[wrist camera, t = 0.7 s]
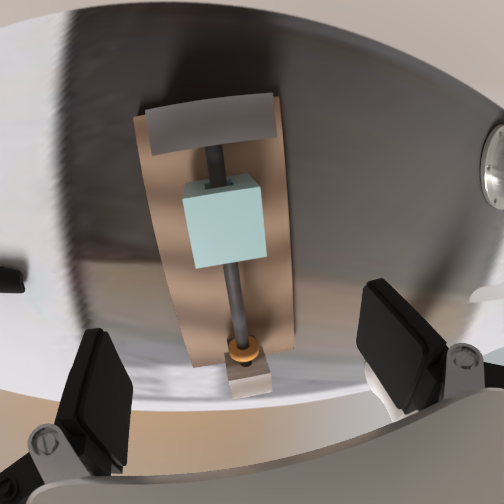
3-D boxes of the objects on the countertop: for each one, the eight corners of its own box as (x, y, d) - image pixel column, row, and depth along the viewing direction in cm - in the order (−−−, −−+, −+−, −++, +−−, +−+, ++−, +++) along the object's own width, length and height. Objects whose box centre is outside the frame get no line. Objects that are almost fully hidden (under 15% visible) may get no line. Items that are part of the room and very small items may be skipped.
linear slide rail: (136, 117, 23) (114, 117, 16) (274, 97, 24) (302, 91, 18) (192, 358, 35) (195, 407, 28) (291, 340, 36) (310, 385, 29)
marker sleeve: (184, 182, 23) (182, 199, 19) (247, 173, 24) (260, 186, 19) (195, 240, 26) (195, 268, 21) (254, 231, 26) (266, 256, 22)
